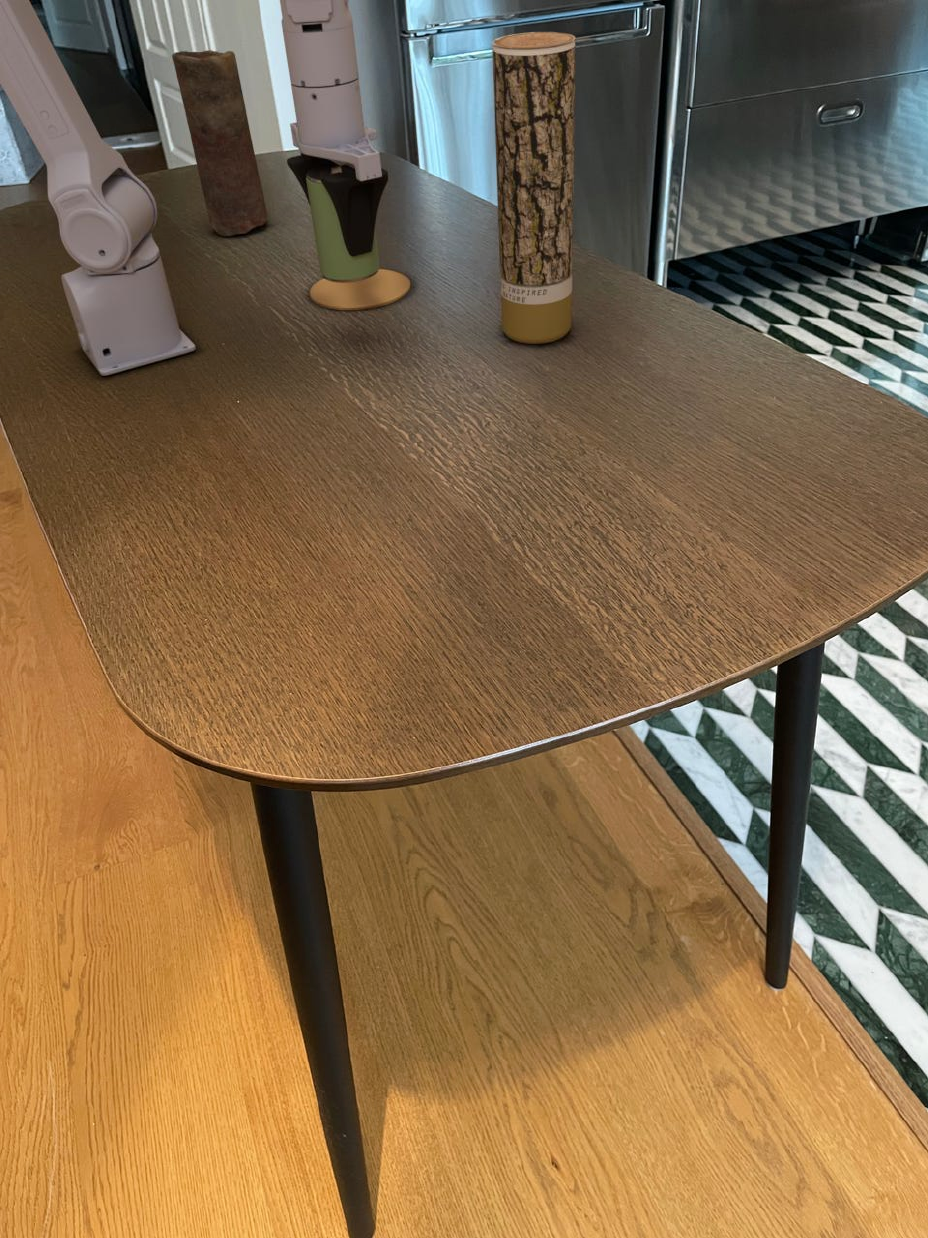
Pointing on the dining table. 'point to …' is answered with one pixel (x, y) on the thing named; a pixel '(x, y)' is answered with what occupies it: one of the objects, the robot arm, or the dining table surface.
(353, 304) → the coaster
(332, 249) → the can
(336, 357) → the dining table surface
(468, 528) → the dining table surface
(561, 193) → the paper tube
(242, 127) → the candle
